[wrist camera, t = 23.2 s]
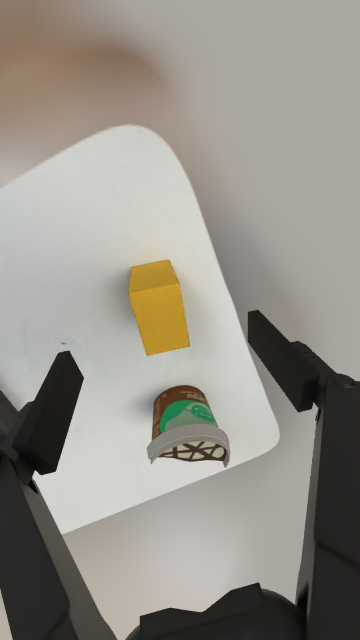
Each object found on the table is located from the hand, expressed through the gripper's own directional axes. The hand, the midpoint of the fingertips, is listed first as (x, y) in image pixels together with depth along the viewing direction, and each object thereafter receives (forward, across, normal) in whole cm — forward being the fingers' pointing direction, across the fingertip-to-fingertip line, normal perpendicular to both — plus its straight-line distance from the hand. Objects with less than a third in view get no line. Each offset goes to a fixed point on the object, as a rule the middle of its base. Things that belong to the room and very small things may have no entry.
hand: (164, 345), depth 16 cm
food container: (+13, +1, -20) cm, 24 cm away
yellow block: (+13, 0, -1) cm, 13 cm away
